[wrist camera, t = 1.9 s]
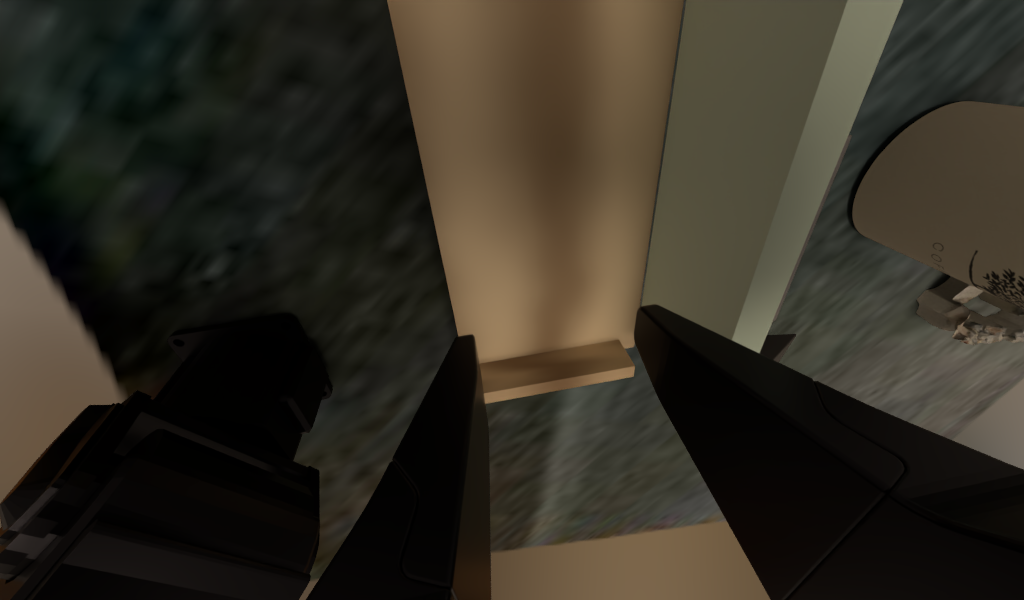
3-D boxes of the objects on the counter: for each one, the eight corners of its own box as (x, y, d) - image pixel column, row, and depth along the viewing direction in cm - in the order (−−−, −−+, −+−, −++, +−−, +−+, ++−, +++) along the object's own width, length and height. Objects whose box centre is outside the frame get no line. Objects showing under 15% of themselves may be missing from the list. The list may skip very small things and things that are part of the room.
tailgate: (636, 336, 22) (696, 443, 16) (703, -116, 11) (940, -271, 6) (667, 332, 22) (737, 437, 16) (761, -122, 11) (1053, -279, 6)
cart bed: (463, 342, 24) (469, 406, 20) (371, -110, 13) (338, -185, 8) (614, 316, 25) (650, 373, 21) (658, -127, 13) (760, -204, 9)
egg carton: (895, 309, 30) (952, 344, 26) (985, 222, 26) (1065, 250, 23) (973, 329, 33) (1033, 362, 30) (1063, 254, 29) (1144, 282, 26)
